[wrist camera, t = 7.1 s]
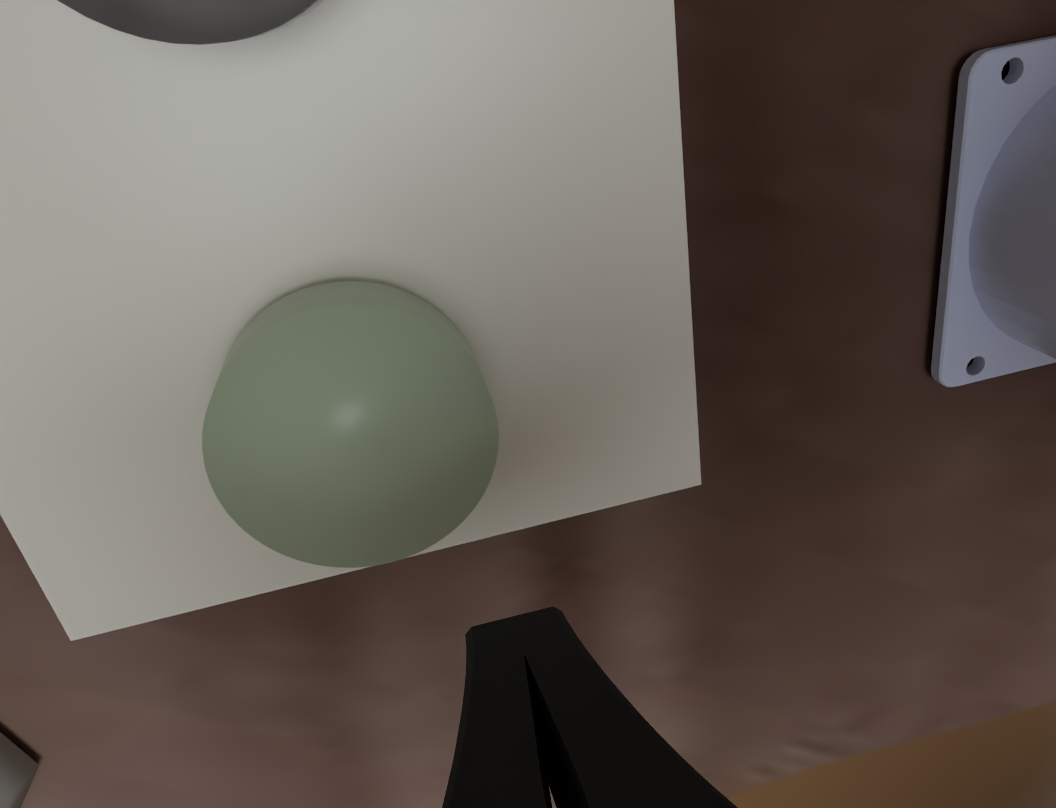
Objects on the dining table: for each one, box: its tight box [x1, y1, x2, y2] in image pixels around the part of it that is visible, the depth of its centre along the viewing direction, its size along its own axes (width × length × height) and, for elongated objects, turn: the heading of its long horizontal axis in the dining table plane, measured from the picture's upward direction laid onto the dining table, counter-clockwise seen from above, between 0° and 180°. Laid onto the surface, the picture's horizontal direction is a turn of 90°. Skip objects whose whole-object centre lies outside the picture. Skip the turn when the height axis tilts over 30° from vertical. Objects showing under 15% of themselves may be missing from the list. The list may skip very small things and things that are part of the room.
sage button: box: [202, 281, 499, 568], centre depth 14 cm, size 5×5×2 cm
